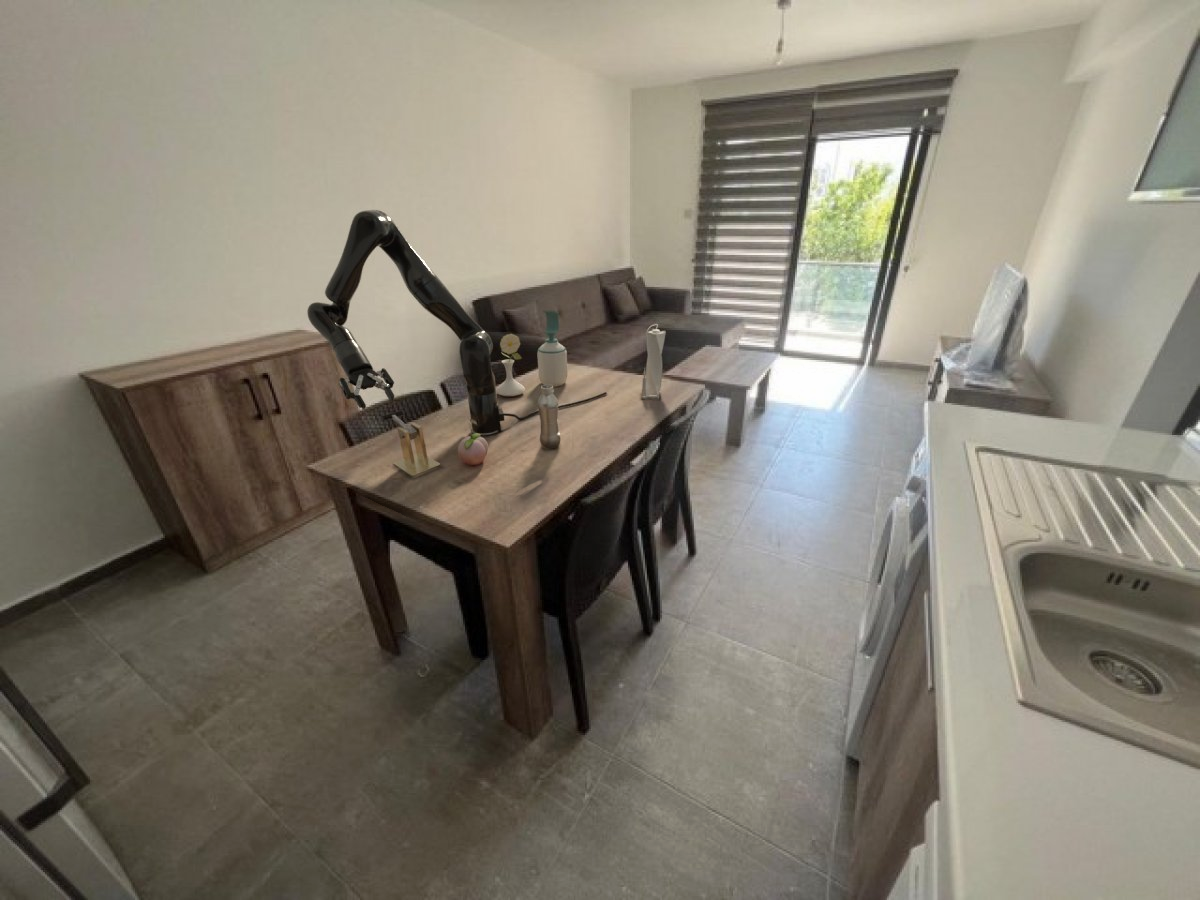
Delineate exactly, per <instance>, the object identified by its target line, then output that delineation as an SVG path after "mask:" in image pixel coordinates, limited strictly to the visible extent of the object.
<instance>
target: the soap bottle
mask: <svg viewBox="0 0 1200 900" xmlns="http://www.w3.org/2000/svg"><path fill="white" fill-rule="evenodd" d="M542 313H544V314H545V318H546V329H545V330H544V331H543V334H546V336H547V337H548V338H545V339H544V341H545V342H544V343H542V345H540V347H538V349H537V352H536V354H537V356H536V357H537V369H538V371H537V372H538V379H539V381H540V383H541V385H552V386H553V388H554V387H556V388H557V387H560V386H563V385H564V384H565V383H566V382H567V379H568V352H567V351H568V350H567V348H566V347H565V346H564V345H563V344H561V343H560V342H559V341H558V338H556V337H555V336H556V334H557V333H558V332H559V331H560V318H559V312H558V311H556V310H542Z"/></svg>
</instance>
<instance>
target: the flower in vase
mask: <svg viewBox="0 0 1200 900" xmlns="http://www.w3.org/2000/svg"><path fill="white" fill-rule="evenodd" d="M520 340H521V339H520V337H519V336H517V335H515V334H513V333H510V334H509V333H508V334H506V335H503V336H502V338H501V339H500V342H499V346H500V349H501V352H500V353H501V354H502V355H503V356H504V357H507V359H503V360H501V363H502V364H503V366H504V369H505V375H506V378H505V380H504V381H503V382H502V383H501V384H499V386H498V387H497V388H496V394H498V395H499V396H503V397H516V396H520V395H522V394H523V393H524V392H525V390H526V388H525V387H524V385H523V384H522V383H519V381H517V380H515V379H514V377H513V365H514V363H515V360H517V361H518V360H522V359H523V357H522V356H521V354H519V353H518V349H519V348H520V346H521V342H520ZM509 355H511V356H509ZM508 358H509V359H508Z"/></svg>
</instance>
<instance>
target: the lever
mask: <svg viewBox="0 0 1200 900" xmlns="http://www.w3.org/2000/svg"><path fill="white" fill-rule="evenodd" d="M403 415H404V412H403V410H402V409H401V410H397V411H394V412H390V413H387V414H384V415H381V416H380V419H381V420H382V421H383V422H384V421H387V420H393V422H395V423H396V424H397V425H398V426H399V427H401V428H403V429H405V430H407V431H408V432H409V437H410V441H412V440H414V439H415V438H417V431H416V430H415V429H414V428H413V427H412V426H411V425H410V426H408V425H407V424H405V422H403V421H402V419H400V417H401V416H403Z"/></svg>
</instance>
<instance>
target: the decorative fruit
mask: <svg viewBox="0 0 1200 900" xmlns="http://www.w3.org/2000/svg"><path fill="white" fill-rule="evenodd" d="M480 435H481V434H478V433H475V434H473V433H471V434H470V436H466V437H464V438H463V439H462V440H461V441H460V442H459V444H458V446H457V454H458V457H459V459H460V460H462V462H463V463H465V464H467V465H469V466H478V465H480V464H481V463H483V461H484V460H485V459H486V457H487V454H488V451H489V443H488V441H487V440H486V439H485V438H484V437H483V436H480Z"/></svg>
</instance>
